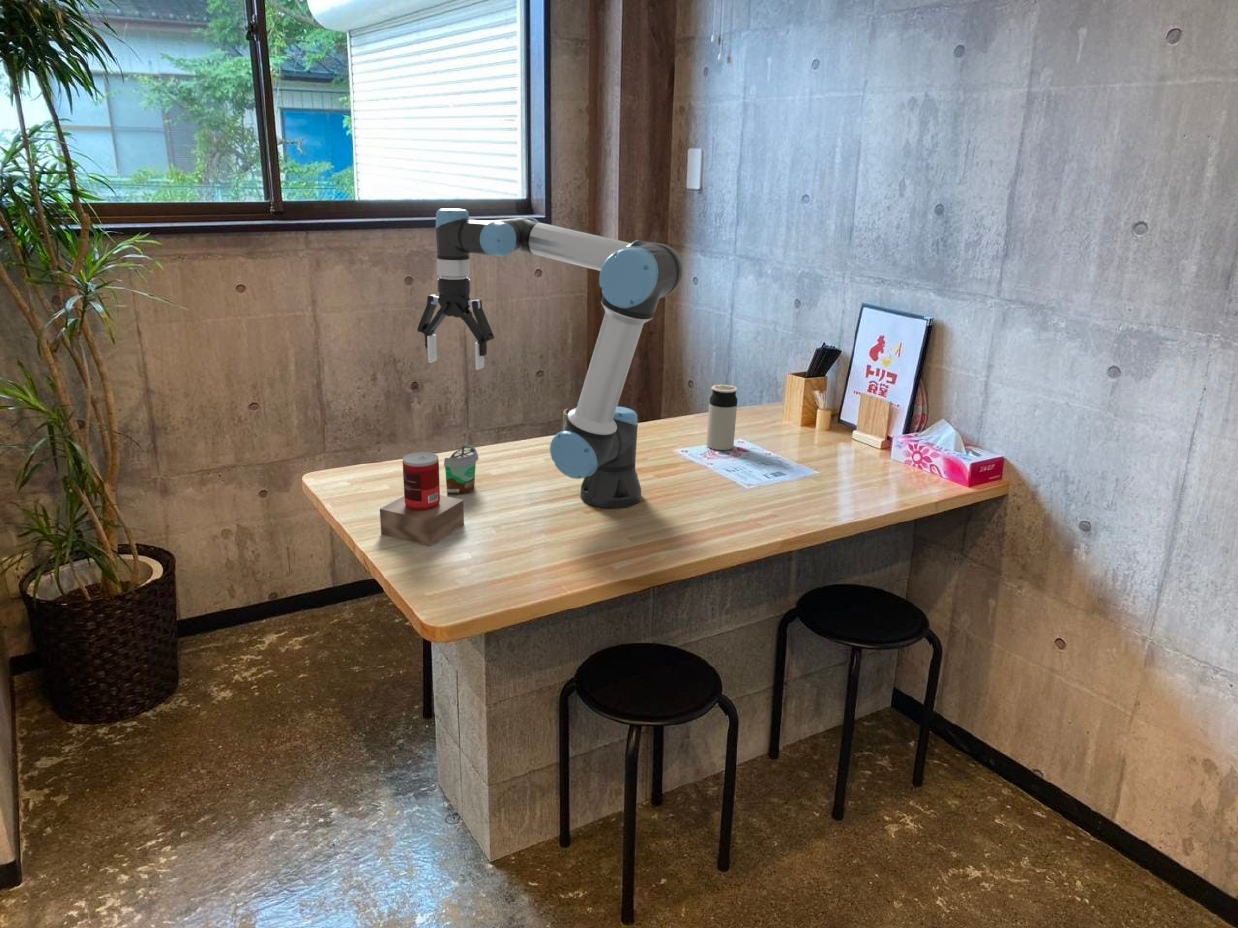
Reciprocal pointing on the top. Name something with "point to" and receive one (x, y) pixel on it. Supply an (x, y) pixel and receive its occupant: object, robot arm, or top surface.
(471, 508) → the top surface
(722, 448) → the travel mug
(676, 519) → the top surface
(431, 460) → the canned food
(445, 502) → the walnut stand
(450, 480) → the food container
